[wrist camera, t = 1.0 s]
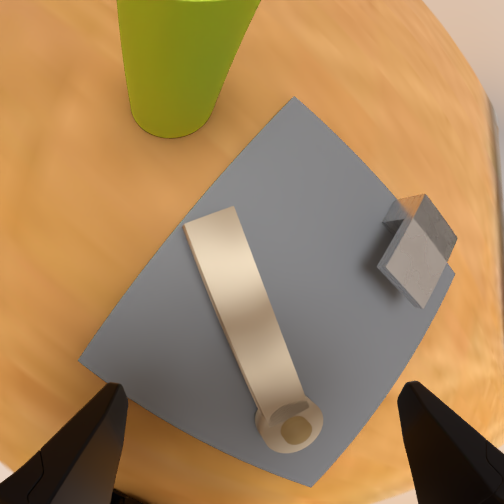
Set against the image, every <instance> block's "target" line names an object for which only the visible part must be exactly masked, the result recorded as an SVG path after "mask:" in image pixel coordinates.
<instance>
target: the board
mask: <svg viewBox="0 0 504 504" xmlns="http://www.w3.org/2000/svg"><path fill="white" fill-rule="evenodd" d="M394 200H397V199H396V198H395V196H394V195H393V194H392V193H391V192H390V191H389V190H388V188H387V187H386V186H385V185H384V184H383V183H382V182H381V181H380V179H379V178H378V177H377V176H376V175H375V174H374V173H373V172H372V171H371V170H370V169H369V168H368V166H367V165H366V164H365V163H364V162H363V161H362V160H361V159H360V158H359V157H358V156H357V155H356V154H355V153H354V152H353V151H352V150H351V149H350V148H349V147H348V146H347V145H346V144H345V143H344V142H343V141H342V140H341V139H340V138H339V137H338V136H337V135H336V134H335V133H334V132H333V131H332V130H331V129H330V128H329V127H328V126H327V125H326V124H325V123H323V122H322V121H321V120H320V119H319V118H318V117H317V116H316V115H315V114H314V113H313V112H312V111H310V110H309V109H308V108H307V107H306V106H305V105H304V104H303V103H302V102H300V101H299V100H298V99H297V98H296V97H295V96H294V97H293V98H292V99H291V100H290V101H289V102H288V103H287V104H286V105H285V106H284V107H283V108H282V109H281V110H280V111H279V112H278V113H277V114H276V115H275V116H274V118H273V119H272V120H271V121H270V122H269V123H268V124H267V125H266V126H265V127H264V128H263V129H262V130H261V131H260V132H259V133H258V134H257V136H256V137H255V138H254V139H253V140H252V141H251V142H250V143H249V144H248V145H247V146H246V147H245V149H244V150H243V151H242V152H241V153H240V154H239V155H238V156H237V157H236V158H235V160H234V161H233V162H232V163H231V164H230V165H229V166H228V167H227V169H226V170H225V171H224V172H223V173H222V174H221V175H220V176H219V178H218V179H217V180H216V181H215V182H214V183H213V185H212V186H211V187H210V188H209V189H208V190H207V191H206V193H205V194H204V195H203V196H202V197H201V199H200V200H199V201H198V202H197V203H196V204H195V206H194V207H193V208H192V209H191V210H190V212H189V213H188V214H187V215H186V216H185V218H184V219H183V220H182V221H181V222H180V224H179V225H178V226H177V227H176V229H175V230H174V231H173V232H172V234H171V235H170V236H169V237H168V238H167V240H166V241H165V242H164V243H163V245H162V246H161V247H160V248H159V250H158V251H157V252H156V254H155V255H154V256H153V257H152V259H151V260H150V261H149V263H148V264H147V265H146V266H145V268H144V269H143V270H142V272H141V273H140V274H139V276H138V277H137V278H136V279H135V281H134V282H133V283H132V285H131V286H130V287H129V289H128V290H127V291H126V293H125V294H124V295H123V297H122V298H121V300H120V301H119V302H118V304H117V305H116V306H115V308H114V309H113V311H112V312H111V313H110V315H109V316H108V317H107V319H106V320H105V322H104V323H103V325H102V326H101V327H100V329H99V330H98V332H97V333H96V334H95V336H94V337H93V339H92V340H91V342H90V343H89V345H88V346H87V348H86V349H85V350H84V352H83V353H82V355H81V356H80V358H79V359H78V361H79V362H80V363H81V364H83V365H84V366H85V367H86V368H88V369H89V370H90V371H92V372H93V373H94V374H96V375H97V376H98V377H100V378H101V379H102V380H104V381H105V382H107V383H109V382H115V383H120V384H122V386H123V388H124V391H125V393H126V396H127V397H128V398H130V399H131V400H133V401H134V402H136V403H137V404H139V405H140V406H142V407H143V408H145V409H147V410H148V411H150V412H151V413H153V414H155V415H156V416H158V417H160V418H161V419H163V420H165V421H166V422H168V423H170V424H171V425H173V426H175V427H177V428H178V429H180V430H182V431H184V432H186V433H187V434H189V435H191V436H193V437H195V438H197V439H199V440H201V441H202V442H204V443H206V444H208V445H210V446H212V447H214V448H216V449H218V450H220V451H222V452H225V453H227V454H229V455H231V456H233V457H235V458H237V459H240V460H242V461H244V462H246V463H249V464H251V465H253V466H256V467H258V468H260V469H263V470H265V471H268V472H270V473H273V474H275V475H278V476H280V477H283V478H286V479H289V480H291V481H294V482H297V483H300V484H303V485H306V486H309V487H312V486H313V485H314V484H315V483H316V482H317V481H318V480H319V479H320V478H321V476H322V475H323V474H324V473H325V472H326V471H327V470H328V469H329V468H330V467H331V465H332V464H333V463H334V462H335V461H336V460H337V459H338V457H339V456H340V455H341V454H342V453H343V452H344V450H345V449H346V448H347V447H348V446H349V444H350V443H351V442H352V441H353V440H354V438H355V437H356V436H357V435H358V433H359V432H360V431H361V429H362V428H363V427H364V426H365V424H366V423H367V422H368V420H369V419H370V418H371V416H372V415H373V414H374V412H375V411H376V410H377V408H378V407H379V405H380V404H381V403H382V401H383V400H384V398H385V397H386V395H387V394H388V393H389V391H390V390H391V388H392V387H393V385H394V384H395V382H396V381H397V379H398V378H399V376H400V375H401V373H402V371H403V370H404V368H405V367H406V365H407V363H408V362H409V360H410V359H411V357H412V355H413V354H414V352H415V350H416V349H417V347H418V345H419V344H420V342H421V340H422V338H423V337H424V335H425V333H426V331H427V329H428V328H429V326H430V324H431V322H432V320H433V318H434V316H435V315H436V313H437V311H438V309H439V307H440V305H441V303H442V301H443V299H444V297H445V295H446V293H447V291H448V289H449V286H450V284H451V282H452V280H453V278H454V276H455V273H454V272H453V270H452V269H451V267H450V266H449V265H448V263H446V265H445V268H444V270H443V272H442V274H441V276H440V278H439V280H438V282H437V284H436V286H435V288H434V290H433V292H432V294H431V296H430V298H429V300H428V302H427V303H426V305H425V307H424V309H420V308H415V307H414V306H413V305H412V304H411V303H410V302H409V301H408V300H407V299H406V298H405V297H404V295H403V294H402V293H401V292H400V291H399V290H398V289H397V288H396V287H395V286H394V285H393V284H392V283H391V281H390V280H389V279H388V278H387V277H386V276H385V275H384V274H383V273H382V272H381V271H380V270H379V269H378V268H377V265H378V263H379V262H380V260H381V258H382V257H383V255H384V253H385V252H386V250H387V248H388V246H389V245H390V243H391V241H392V239H393V238H394V236H393V234H392V233H391V232H390V231H389V230H388V229H387V228H386V227H385V225H384V224H383V223H382V221H383V219H384V217H385V216H386V214H387V212H388V210H389V209H390V207H391V205H392V204H393V202H394ZM231 206H234V208H235V210H236V213H237V216H238V218H239V221H240V224H241V226H242V229H243V232H244V234H245V237H246V240H247V242H248V245H249V248H250V250H251V253H252V256H253V258H254V261H255V264H256V266H257V269H258V272H259V274H260V277H261V280H262V282H263V285H264V288H265V290H266V293H267V296H268V298H269V301H270V304H271V306H272V309H273V312H274V314H275V317H276V320H277V322H278V325H279V328H280V330H281V333H282V335H283V338H284V341H285V343H286V346H287V349H288V351H289V354H290V357H291V359H292V362H293V365H294V367H295V370H296V373H297V375H298V378H299V381H300V383H301V386H302V389H303V391H304V394H305V395H306V396H307V397H308V398H309V399H310V400H311V401H312V402H313V403H315V404H316V405H317V406H318V407H319V408H320V410H321V412H322V414H323V426H322V429H321V431H320V433H319V435H318V436H317V438H316V439H315V440H314V441H313V442H312V443H311V444H310V445H308V446H307V447H305V448H304V449H302V450H300V451H297V452H293V453H278V452H275V451H273V450H272V449H270V448H269V447H268V446H267V444H266V443H265V441H264V440H263V438H262V436H261V435H260V433H259V432H258V430H257V428H256V425H255V415H256V412H257V410H258V408H257V406H256V404H255V401H254V399H253V397H252V395H251V393H250V390H249V388H248V386H247V384H246V382H245V379H244V377H243V375H242V373H241V371H240V368H239V366H238V364H237V361H236V359H235V357H234V355H233V352H232V350H231V348H230V345H229V343H228V341H227V338H226V336H225V334H224V331H223V329H222V327H221V324H220V322H219V319H218V317H217V315H216V312H215V310H214V307H213V305H212V302H211V300H210V298H209V295H208V293H207V290H206V288H205V285H204V283H203V280H202V278H201V275H200V272H199V270H198V267H197V265H196V262H195V260H194V257H193V254H192V252H191V249H190V247H189V244H188V241H187V239H186V236H185V233H184V231H183V228H182V226H183V225H184V224H185V223H188V222H190V221H193V220H196V219H198V218H201V217H204V216H207V215H209V214H212V213H215V212H218V211H220V210H223V209H226V208H229V207H231Z"/></svg>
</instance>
